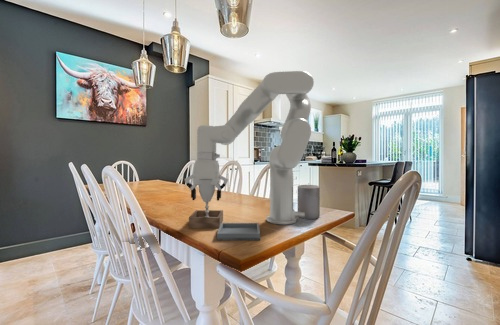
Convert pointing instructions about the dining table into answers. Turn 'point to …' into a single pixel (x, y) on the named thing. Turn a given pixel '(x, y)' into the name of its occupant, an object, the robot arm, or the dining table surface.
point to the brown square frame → (206, 219)
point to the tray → (238, 231)
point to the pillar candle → (309, 201)
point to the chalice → (206, 192)
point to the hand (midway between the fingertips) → (206, 199)
